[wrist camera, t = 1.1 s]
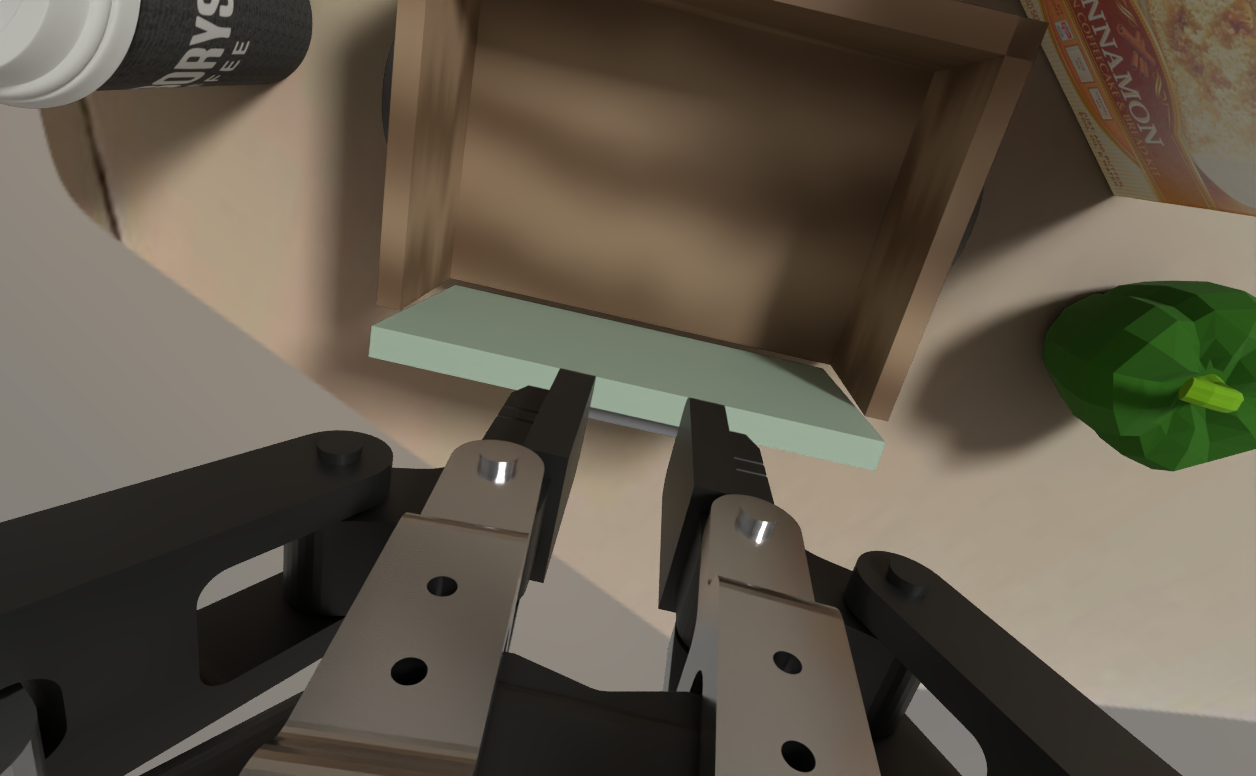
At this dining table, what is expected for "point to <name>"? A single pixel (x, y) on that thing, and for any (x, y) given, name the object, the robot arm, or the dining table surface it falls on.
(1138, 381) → the bell pepper
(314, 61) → the dining table surface
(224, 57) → the coffee cup
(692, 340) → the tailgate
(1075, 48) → the coffeecake box
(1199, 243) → the dining table surface
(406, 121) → the box
